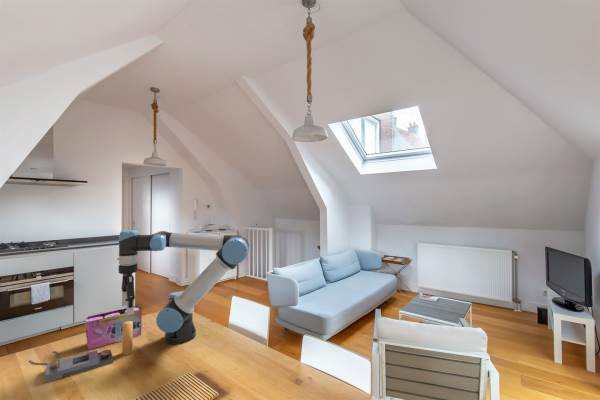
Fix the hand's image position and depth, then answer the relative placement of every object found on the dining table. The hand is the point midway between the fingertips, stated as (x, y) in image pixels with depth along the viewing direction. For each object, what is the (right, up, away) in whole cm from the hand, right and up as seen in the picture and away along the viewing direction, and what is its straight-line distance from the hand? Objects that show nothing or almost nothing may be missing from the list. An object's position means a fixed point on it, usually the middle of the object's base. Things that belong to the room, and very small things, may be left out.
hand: (127, 309), depth 131 cm
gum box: (-14, -20, +13) cm, 28 cm away
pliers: (-28, -21, -6) cm, 35 cm away
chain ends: (-13, -20, -11) cm, 26 cm away
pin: (0, -20, 0) cm, 20 cm away
